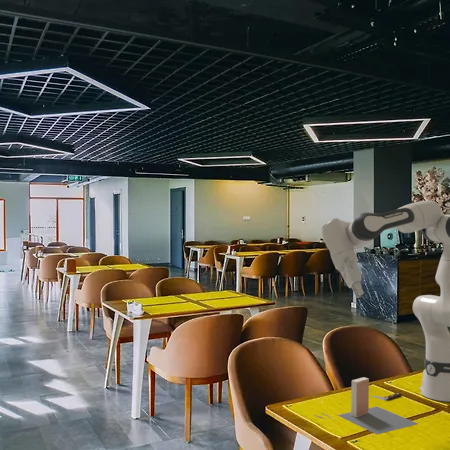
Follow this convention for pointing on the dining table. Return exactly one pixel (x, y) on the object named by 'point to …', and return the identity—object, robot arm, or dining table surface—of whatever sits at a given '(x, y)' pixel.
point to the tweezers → (322, 417)
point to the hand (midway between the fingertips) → (360, 295)
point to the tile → (360, 397)
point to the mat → (379, 420)
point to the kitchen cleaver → (389, 397)
